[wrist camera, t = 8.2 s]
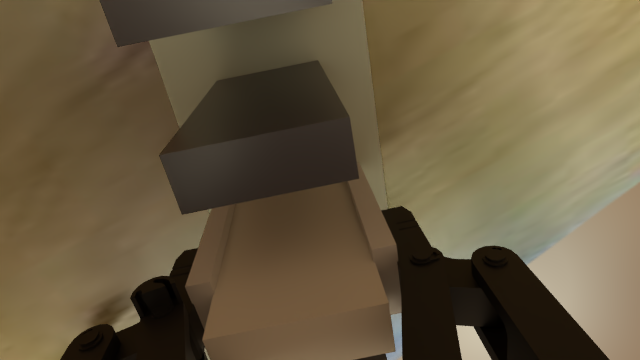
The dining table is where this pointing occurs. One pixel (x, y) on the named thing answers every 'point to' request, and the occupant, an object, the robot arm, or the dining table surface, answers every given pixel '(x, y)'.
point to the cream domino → (298, 283)
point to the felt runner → (280, 51)
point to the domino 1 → (188, 15)
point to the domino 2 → (261, 139)
